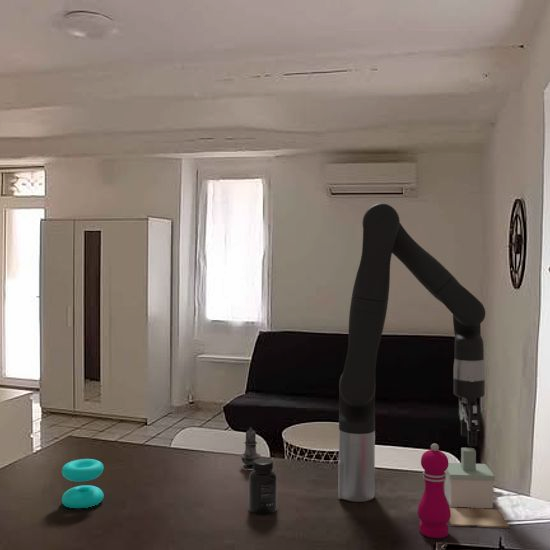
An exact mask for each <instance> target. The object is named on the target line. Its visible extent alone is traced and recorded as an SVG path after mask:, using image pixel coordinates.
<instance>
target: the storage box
mask: <svg viewBox="0 0 550 550" xmlns="http://www.w3.org/2000/svg"><path fill="white" fill-rule="evenodd" d="M445 473H446V480H445V481H444V494H445V497H446V500H447V502H448V504H449V507H450V508H457V507H468V508H467V509H484V508H493V506H494V505H493V504H494V502H493V501H494V499H493V497H494V492H493V491H494V484H493V483H494V481H481V480H451V479H450V478H449V476H448V474H447V472H446V471H445ZM469 507H471V508H469ZM474 507H475V508H474ZM493 509H494V508H493Z"/></svg>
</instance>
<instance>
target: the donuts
mask: <svg viewBox="0 0 550 550" xmlns="http://www.w3.org/2000/svg"><path fill="white" fill-rule="evenodd" d="M103 471H104V464H103V462H101V461H100V460H97V459H93V458H80V459H74V460H71V461H69V462H67V463H65V464H64V465H63V466H62V468H61V474H62V476H63V477H64V478H65V479H66V480H68V481H71V482H75V483H77V482H78V483H79V482H80V483H81V482H89V481H92V480H95V479H97V478H98V477H100V476H101V475H102V473H103ZM104 495H105V494H104V492H103V490H102V489H101V488H100V487H97V486H95V485H89V484H88V485H87V484H85V485H77V486H74V487H71V488H69V489H67V490H66V491H65V492H64V493H63V494H62V497H61V502H62V504H63V506H64V507H66V508H68V507H69V508H68V509H71V508H86V509H89V508H88V507H91V508H93V507H92V506H94V507H96V506H98V505H100V504H101V503H102V502H103V500H104V497H105V496H104ZM99 503H100V504H99ZM95 505H96V506H95Z"/></svg>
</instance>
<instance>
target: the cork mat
mask: <svg viewBox="0 0 550 550" xmlns="http://www.w3.org/2000/svg"><path fill="white" fill-rule="evenodd" d="M450 512H451V518H450V520H449V521H448V522H449V524H450V526H452V527H470V526H477V527H476V528H496V529H497V528H499V529H500V528H501V529H503V528H504V529H510V527H511V526H510V525H509V523H508V521H507V520H506V518H505V517H504V516H503V514H502V513H501V512H500V510H499V509H494V508H493V509H484V508H457V507H450Z"/></svg>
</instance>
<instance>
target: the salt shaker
mask: <svg viewBox="0 0 550 550" xmlns="http://www.w3.org/2000/svg"><path fill="white" fill-rule="evenodd" d="M256 440H257V437H256V431H255V430H254V429H253V428H252V427H251V426H250V427H249V430H247V431H246V432H245V442H244V444H245V446H244V447H245V451H244V453H241V454H240V457H241V461H242V463H243V465H242V466H243V468H244V469H253V461H254V460H256V459H261V454H260V453H258V452H257V449H256V448H257V446H256V445H257V441H256Z"/></svg>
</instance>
